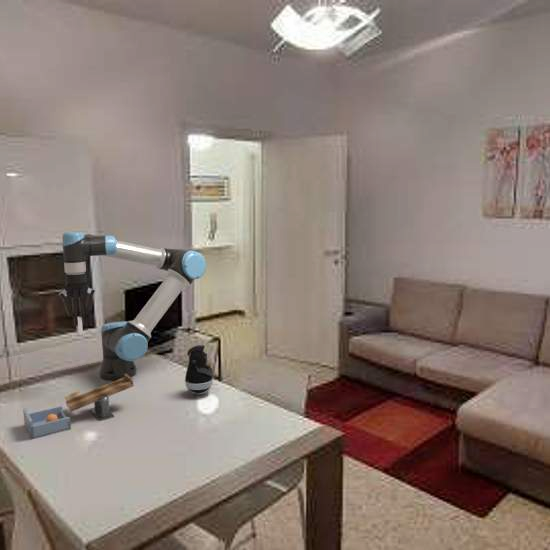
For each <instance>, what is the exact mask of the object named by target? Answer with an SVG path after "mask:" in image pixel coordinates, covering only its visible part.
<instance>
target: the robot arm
mask: <svg viewBox="0 0 550 550" xmlns="http://www.w3.org/2000/svg"><path fill="white" fill-rule="evenodd" d="M62 254H63V263H64V264H63V265H64V273H65V274H64V279H65V280H64V281H65V287H64V290H63V291H61V292H60V291H59V293H58V296H59V297H60V298H61V299H62V301H63V305H64V307H65V310H66V313H67V316H68V317H70V318H73V321H72V322H73V325H74V327H76V333H77V335H83V334H84V331H83V329H84V328H83V326H85V324H86V321H85V320H86V319H85V317H86V316H88V315H89V314H90V312H91V307H92V300H93V296H94V293H95V292H96V291H95V289H93V288H90V287H89V285H88V279H87V273H86V272H87V267H86V257H96V256H97V257H98V256H99V257H100V256H104V257H108V258H113V259H119V260H123V261H124V260H125V261H128V262H129V261H130V262H135V263H140V264H145V265H149V266H155V268H156V269H158V270H162V271H166V272H167V276H166V277H165V279H164V280H163V281H162V283H160V285H159V286H158V288H157V289H156V290H155V292H154V293H153V294H152V296H151V297H150V298H149V299H148V301H147V302H146V304H145V305H144V306H143V307H142V309H141V310H140V311H139V313H138V314H137V315H136V317H135V318H134V319H133V320H128V321H123V320H122V321H114V322H108V323H105V324H103V325H101V327H100V328H101V331H100V333H101V335H100V336H101V346H102V349H101V350H102V362H101V365H100V368H99V376H100V378H101V379H104V380H105V381H107V380H108V381H117V380H119V379H122V378H124V377H125V376H124V374H127V375H128V376H130V377H131V378H132V377H133V376H134V375H136V374H137V365H136V364H135V361H138V360H140V359H142V358H143V357H144V356H145V354H146V353H147V351H148V343H149V341H150V340H151V338H152V334H151V333H152V331H153V329H154V328H155V327H156V326H157V324H158V323H159V321H160V320H161V319H162V318H163V316H164V315H165V313H166V312H167V311H168V310H169V308H170V307H171V306H172V304H173V303H174V301H175V300H176V299H177V298H178V296H179V294H180V293H181V292H182V291H183V289H184V288H185V287H190V286H191V285H192V284H193V282H194V280H197V279H200V278H202V277H203V275H204V274H205V273H206V270H207V261H206V259H205V257H204V256H203V254H201V253H200V252H197V251H195V250H188V249H178V248H177V249H175V248H166V247H160V248H155V247H154V248H153V247H150V246H146V245H141V244H140V245H139V244H137V243H131V242H127V241H121V240H117V239H116V237H115V236H114V235H107V234H106V235H96V234H90V233H86V234H84V232H82V231H70V232H64V233H63V234H62ZM86 293H87V296H86V301H85V302H84V299H85V297H84V296H85V295H86ZM67 295H69V297H70V299H71V307H70V304H69V300H68V298H67ZM77 300H78V302H77ZM78 308H79V314H78ZM71 309H72V310H71ZM78 315H79V316H78Z"/></svg>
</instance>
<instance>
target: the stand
mask: <svg viewBox="0 0 550 550" xmlns="http://www.w3.org/2000/svg"><path fill="white" fill-rule="evenodd" d="M97 388H98V387H95V388H93V389H92V390H94V389H97ZM100 399H101V400H99V401H96V402H94V403H93V404H94V407H92V408H89V409H90V412H91V413H92V414H93V415H94V416H95V418H97V420H98V421H99V422H101V421H105V420H109V419H112V418H115V415H114V413H112V412H111V411H110V400H109V397H108V395H103V396H100Z"/></svg>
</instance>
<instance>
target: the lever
mask: <svg viewBox="0 0 550 550" xmlns="http://www.w3.org/2000/svg"><path fill="white" fill-rule="evenodd" d="M124 376H125V377H124V378H122V379H119V380H113V382H110V383H107V384H104V385H101V386H99V387H96V388H97V389H94V388H93V389H94V390H93V389H92V390H89V391H87V392H85V393H82V392H81V391H79V390H77V391H75V392H73V393H70V394H66V395H65V396H64V399H65V403H66V406H67V407H68V409H69V410H70V412H71V413H72V412H74V411H76V410H79V409H82V408H85V407H86V406H89V405H92V404H94V402H96V401H99V400H101V399H100V396H103V395H108V398H109V397H111V396H113V395H115V394H118V393H120V392H123V391H126V390H128V389H130V388H133V387H134V382H133V378H132V376H131V377H130V376H128V375H127V374H124Z"/></svg>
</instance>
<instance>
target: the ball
mask: <svg viewBox="0 0 550 550" xmlns="http://www.w3.org/2000/svg"><path fill="white" fill-rule="evenodd" d="M55 420H58V417H57V416H56V415H55V414H50V415H48V416H47V418H46V422H50V421H55Z"/></svg>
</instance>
